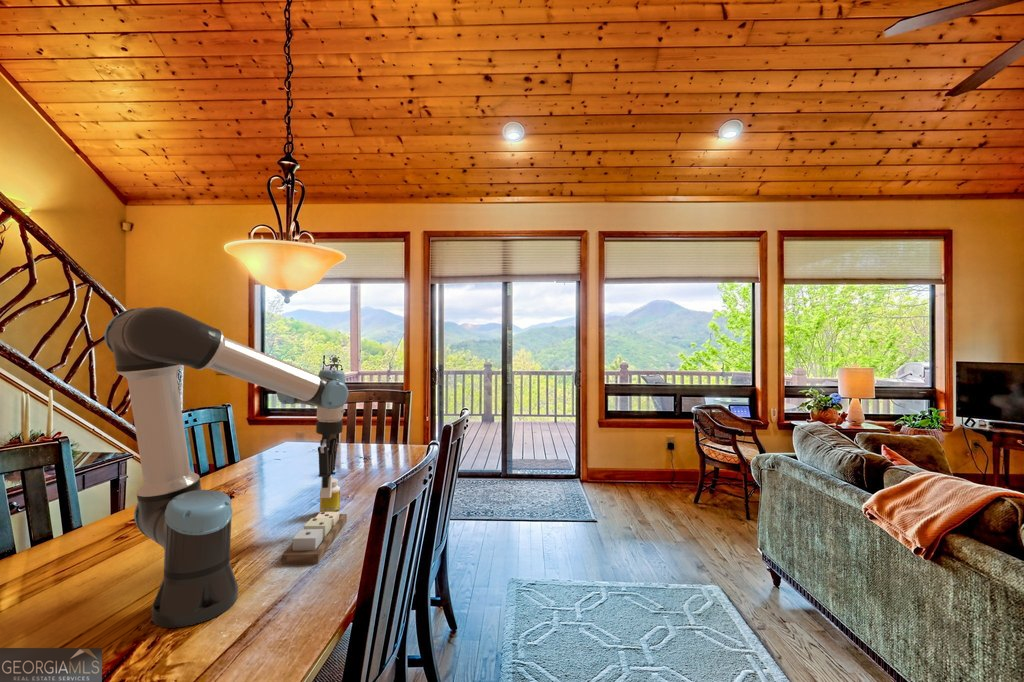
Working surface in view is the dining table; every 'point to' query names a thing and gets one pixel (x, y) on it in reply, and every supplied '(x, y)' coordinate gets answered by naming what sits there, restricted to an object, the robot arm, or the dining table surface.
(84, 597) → the dining table surface
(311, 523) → the tile two
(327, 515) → the tile three
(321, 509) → the pill bottle
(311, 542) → the tile one
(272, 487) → the dining table surface
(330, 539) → the tile tray
